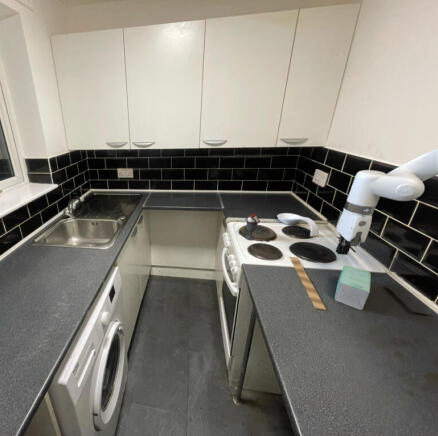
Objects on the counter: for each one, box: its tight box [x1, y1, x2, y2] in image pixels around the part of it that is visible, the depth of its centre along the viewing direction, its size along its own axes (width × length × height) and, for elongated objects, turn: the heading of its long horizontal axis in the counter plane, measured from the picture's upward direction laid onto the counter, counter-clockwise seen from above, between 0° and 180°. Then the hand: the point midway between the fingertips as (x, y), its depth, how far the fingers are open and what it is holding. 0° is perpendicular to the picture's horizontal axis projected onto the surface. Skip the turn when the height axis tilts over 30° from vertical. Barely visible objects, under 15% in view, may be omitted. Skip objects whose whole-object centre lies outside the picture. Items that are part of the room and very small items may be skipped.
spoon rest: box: [276, 212, 320, 238], centre depth 125 cm, size 24×12×7 cm, turn 13°
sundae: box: [244, 211, 261, 241], centre depth 114 cm, size 7×7×15 cm
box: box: [334, 265, 372, 311], centre depth 78 cm, size 7×14×8 cm, turn 138°
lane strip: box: [289, 256, 327, 311], centre depth 87 cm, size 30×3×1 cm, turn 164°
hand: (341, 253), depth 85 cm, fingers closed
